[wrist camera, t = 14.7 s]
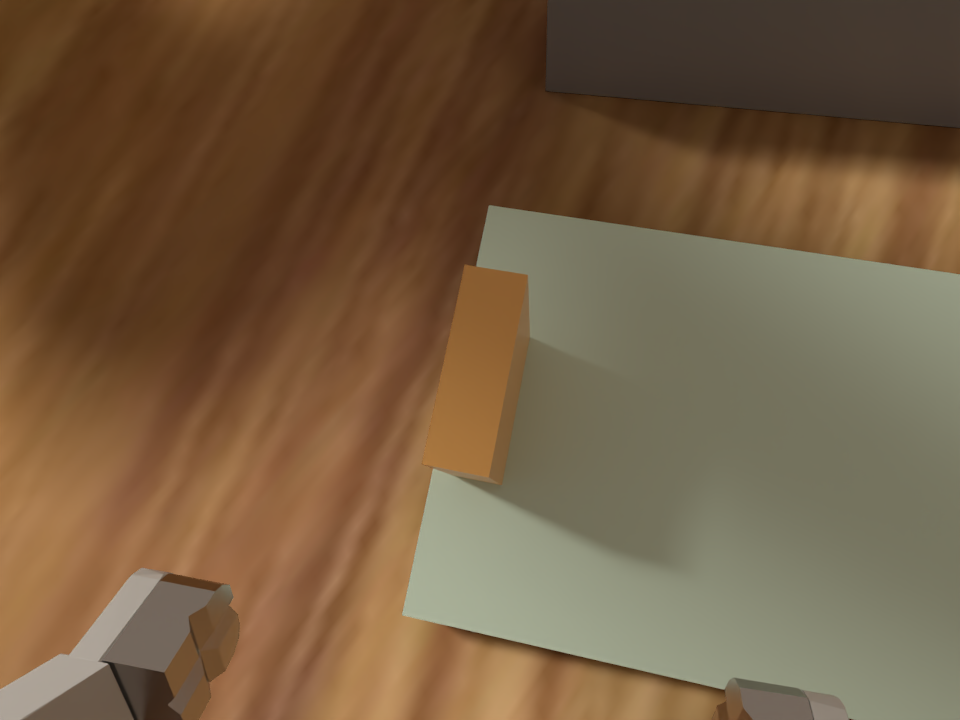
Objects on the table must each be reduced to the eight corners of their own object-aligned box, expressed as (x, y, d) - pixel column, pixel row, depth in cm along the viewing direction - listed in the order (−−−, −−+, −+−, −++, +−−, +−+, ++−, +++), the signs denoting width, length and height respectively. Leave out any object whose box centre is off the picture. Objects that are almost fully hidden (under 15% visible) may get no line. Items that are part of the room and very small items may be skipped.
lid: (416, 603, 22) (347, 659, 14) (493, 234, 25) (473, 102, 17) (1002, 736, 20) (1328, 898, 12) (1015, 313, 23) (1287, 205, 15)
